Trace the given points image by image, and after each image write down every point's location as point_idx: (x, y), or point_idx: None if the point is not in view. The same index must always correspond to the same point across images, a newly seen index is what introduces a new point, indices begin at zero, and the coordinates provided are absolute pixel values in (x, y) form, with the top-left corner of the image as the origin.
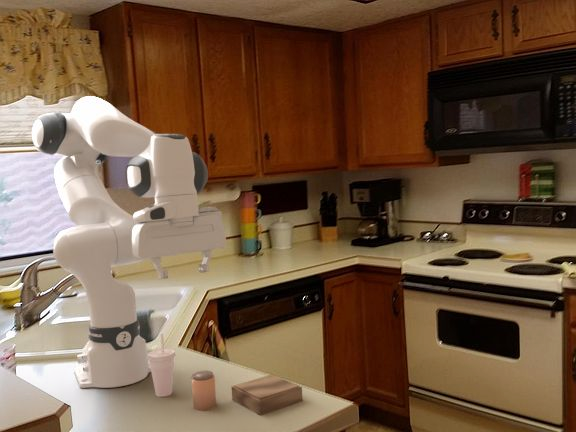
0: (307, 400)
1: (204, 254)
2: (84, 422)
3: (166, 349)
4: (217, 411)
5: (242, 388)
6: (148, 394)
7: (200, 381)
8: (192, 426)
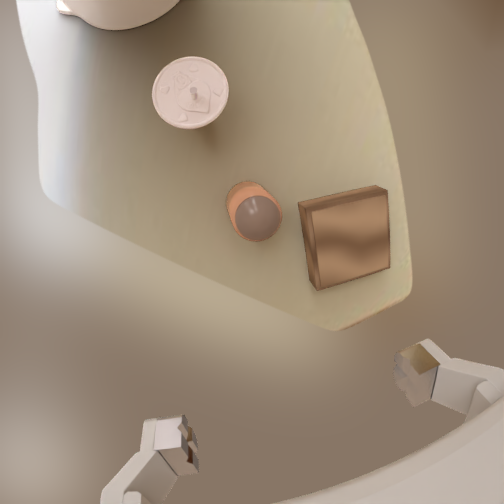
0: None
1: (469, 416)
2: (48, 179)
3: (210, 68)
4: None
5: (317, 234)
6: None
7: (245, 238)
8: (206, 273)
